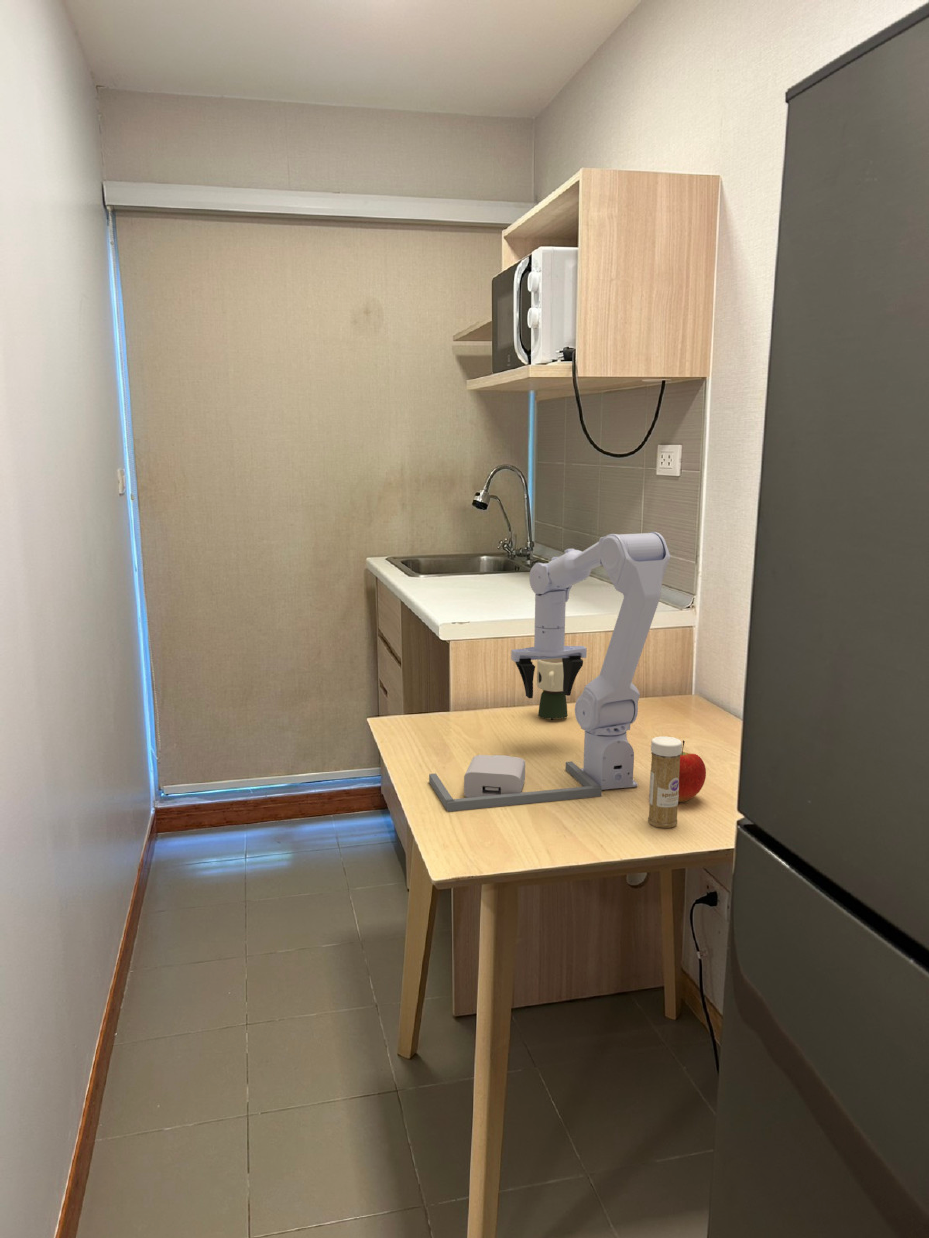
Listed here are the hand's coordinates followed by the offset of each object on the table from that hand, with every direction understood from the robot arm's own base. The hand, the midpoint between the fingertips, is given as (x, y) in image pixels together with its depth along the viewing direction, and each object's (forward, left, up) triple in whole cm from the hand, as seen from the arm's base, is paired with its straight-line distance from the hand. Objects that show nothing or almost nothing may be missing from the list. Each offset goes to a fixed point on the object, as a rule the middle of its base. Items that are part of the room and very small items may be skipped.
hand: (548, 695), depth 171 cm
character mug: (+18, -8, -11) cm, 22 cm away
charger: (-16, +15, -11) cm, 24 cm away
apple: (-30, -12, -11) cm, 34 cm away
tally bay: (-18, +13, -10) cm, 25 cm away
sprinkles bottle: (-38, -5, -11) cm, 40 cm away
